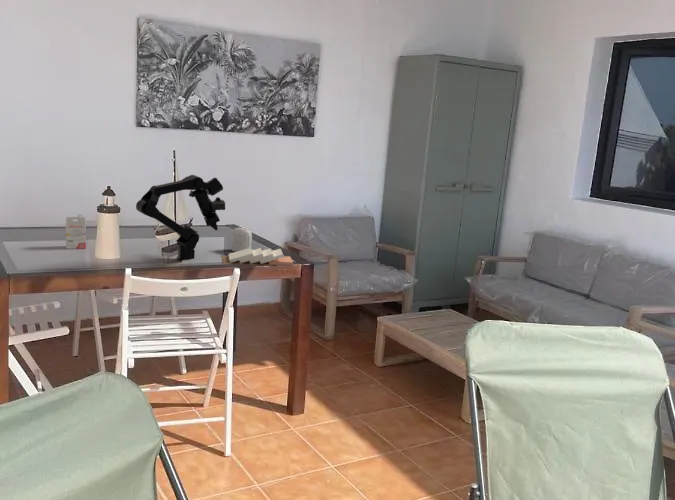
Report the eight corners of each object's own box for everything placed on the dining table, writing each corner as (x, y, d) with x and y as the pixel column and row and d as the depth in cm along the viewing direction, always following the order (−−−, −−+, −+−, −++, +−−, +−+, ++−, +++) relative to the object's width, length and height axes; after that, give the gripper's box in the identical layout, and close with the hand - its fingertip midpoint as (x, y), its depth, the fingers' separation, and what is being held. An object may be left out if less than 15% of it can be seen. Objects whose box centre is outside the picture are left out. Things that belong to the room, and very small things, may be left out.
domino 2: (239, 260, 313) (262, 253, 314) (238, 254, 323) (260, 247, 324) (240, 263, 314) (263, 256, 315) (239, 257, 323) (261, 250, 324)
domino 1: (229, 259, 312) (252, 253, 313) (228, 253, 322) (251, 247, 323) (230, 262, 313) (253, 256, 314) (229, 256, 322) (252, 250, 323)
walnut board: (222, 265, 310) (222, 263, 310) (221, 257, 323) (221, 255, 323) (275, 267, 315) (275, 265, 315) (272, 259, 328) (272, 257, 328)
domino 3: (249, 260, 314) (272, 253, 315) (248, 254, 323) (270, 248, 325) (250, 263, 314) (273, 256, 316) (248, 257, 324) (271, 251, 325)
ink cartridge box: (85, 246, 319) (85, 215, 315) (85, 248, 314) (86, 217, 311) (65, 246, 316) (65, 214, 312) (65, 248, 311) (65, 217, 307)
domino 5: (269, 261, 316) (293, 262, 318) (267, 255, 325) (290, 256, 328) (269, 264, 316) (292, 265, 319) (267, 258, 326) (290, 259, 328)
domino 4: (259, 260, 315) (282, 254, 316) (258, 255, 324) (280, 248, 326) (260, 263, 315) (283, 257, 317) (258, 258, 325) (281, 251, 326)
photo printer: (252, 254, 333) (253, 230, 330) (246, 256, 329) (247, 231, 326) (236, 250, 338) (237, 225, 335) (230, 251, 335) (231, 226, 332)
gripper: (223, 200, 304) (236, 230, 311) (216, 187, 320) (229, 215, 328) (200, 210, 302) (213, 240, 310) (194, 196, 319) (207, 225, 326)
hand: (216, 229), depth 318 cm, fingers closed
